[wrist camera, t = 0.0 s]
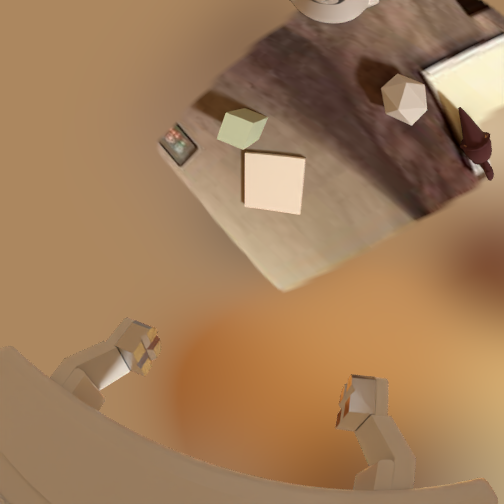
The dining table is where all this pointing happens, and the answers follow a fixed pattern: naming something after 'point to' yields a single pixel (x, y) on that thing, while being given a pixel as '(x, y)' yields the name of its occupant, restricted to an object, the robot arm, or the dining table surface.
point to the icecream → (476, 143)
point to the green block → (241, 127)
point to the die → (404, 99)
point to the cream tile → (274, 182)
